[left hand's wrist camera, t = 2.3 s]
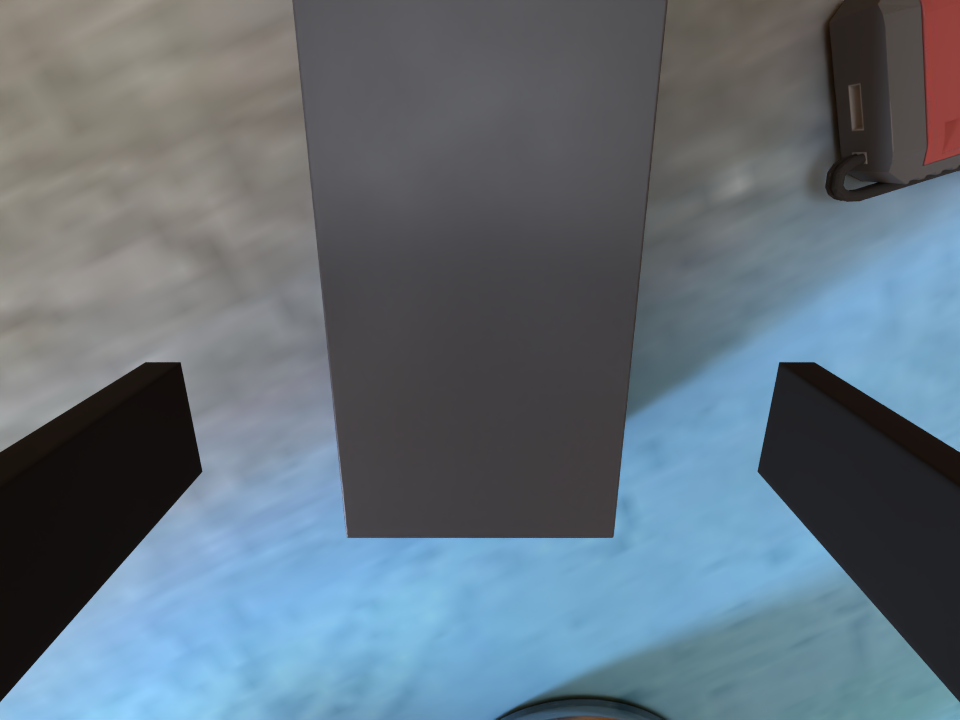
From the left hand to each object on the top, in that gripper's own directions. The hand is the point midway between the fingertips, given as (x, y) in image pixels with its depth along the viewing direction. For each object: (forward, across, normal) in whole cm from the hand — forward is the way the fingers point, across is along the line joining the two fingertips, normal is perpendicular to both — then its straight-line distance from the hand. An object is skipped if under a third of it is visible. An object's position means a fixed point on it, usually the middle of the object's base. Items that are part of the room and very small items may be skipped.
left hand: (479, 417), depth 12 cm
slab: (+12, 0, -23) cm, 26 cm away
